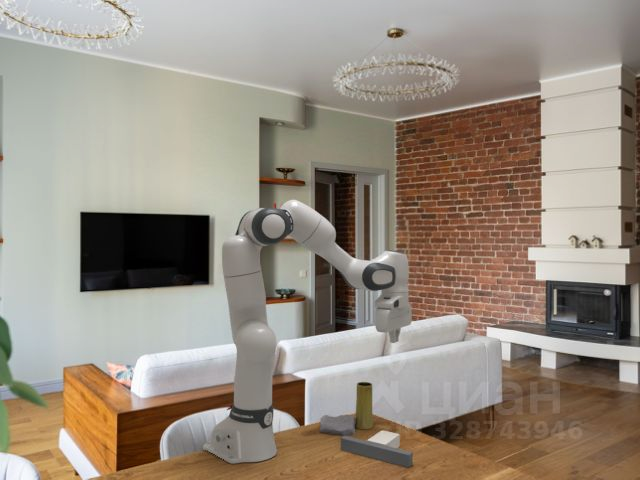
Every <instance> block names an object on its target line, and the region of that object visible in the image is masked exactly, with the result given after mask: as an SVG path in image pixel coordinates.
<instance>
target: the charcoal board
mask: <svg viewBox="0 0 640 480" xmlns="http://www.w3.org/2000/svg"><path fill="white" fill-rule="evenodd" d="M340 450H341V451H344V452H347V453H352V454H355V455H359V456H364V457H367V458H369V459H374V460H377V461H378V460H379V461H381V462H386V463H389V464H393V465H397V466H401V467H404V468H408V469H410V468H411V467H412V466H413V465H414V463H413V460H414V459H413V458H414V457H413V456H414V455H413V452H412V451H409V450H404V449H400V448H393V447H389V446H385V445H381V444H377V443H373V442H369V441H367V440H365V439H361V438H357V437H352V436H350V435H342V437H340Z"/></svg>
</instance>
